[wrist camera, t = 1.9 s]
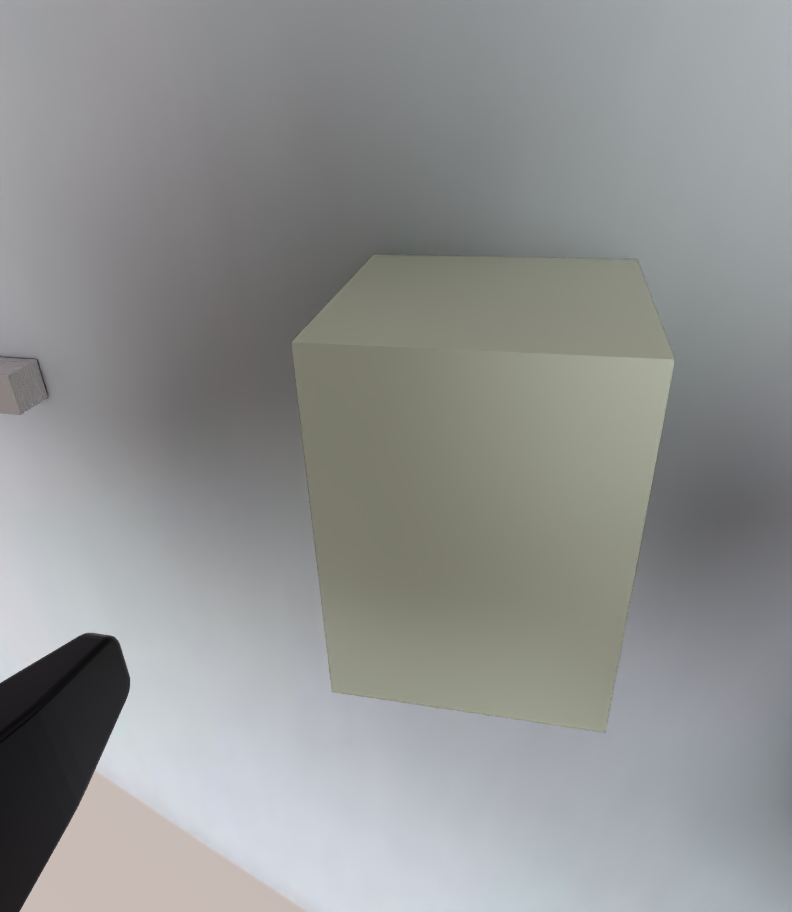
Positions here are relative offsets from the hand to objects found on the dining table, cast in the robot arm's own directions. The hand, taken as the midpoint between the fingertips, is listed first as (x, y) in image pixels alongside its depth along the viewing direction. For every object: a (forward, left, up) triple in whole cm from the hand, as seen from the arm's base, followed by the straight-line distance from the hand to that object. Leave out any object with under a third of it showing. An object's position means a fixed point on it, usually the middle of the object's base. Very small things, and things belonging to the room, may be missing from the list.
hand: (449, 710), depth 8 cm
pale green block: (0, 0, -8) cm, 8 cm away
